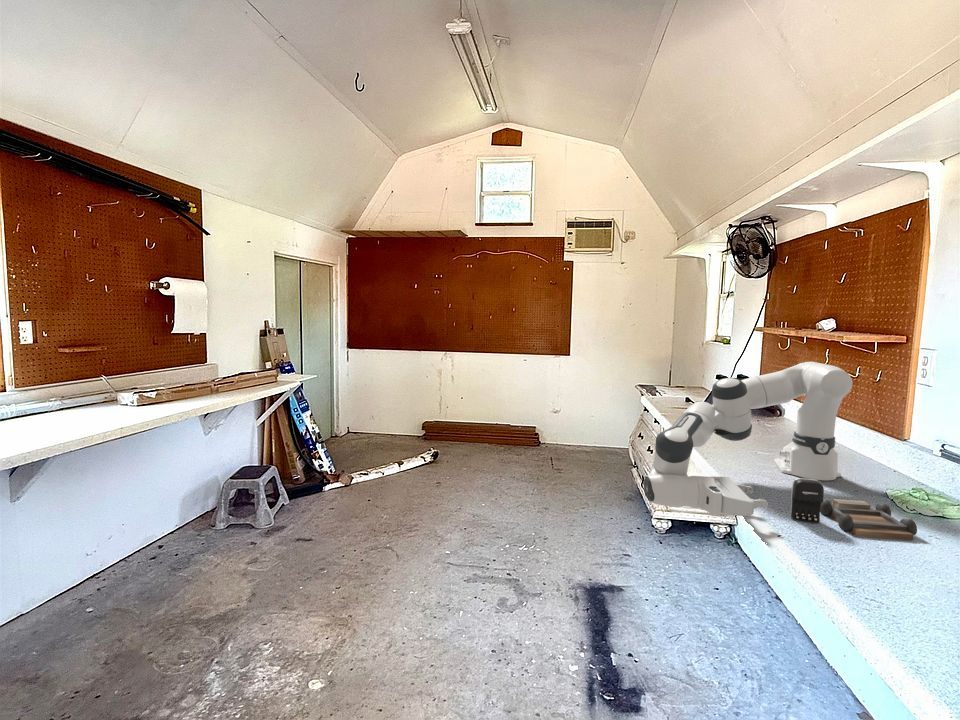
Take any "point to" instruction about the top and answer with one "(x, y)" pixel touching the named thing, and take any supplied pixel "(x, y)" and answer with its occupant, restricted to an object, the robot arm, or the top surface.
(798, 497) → the battery
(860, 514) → the chassis
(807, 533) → the top surface
